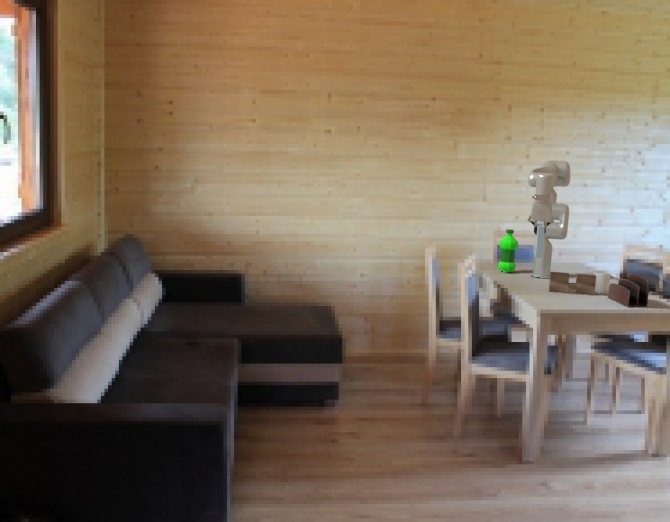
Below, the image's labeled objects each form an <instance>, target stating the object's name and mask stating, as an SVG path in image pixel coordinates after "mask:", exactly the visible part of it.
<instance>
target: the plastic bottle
mask: <svg viewBox="0 0 670 522" xmlns="http://www.w3.org/2000/svg"><path fill="white" fill-rule="evenodd" d="M514 231H515V230H514V229H509V228H507V229H506V230H505V233H506V235H505V236H504V237H502V238H501V239H500V241H499V247H500V261H499V262H498V270H500V271H501V272H502V271H505V272H511V273H513V272H514V271H515V269H516V267H517V266H516V263H515V261H516V260H515V257H516V250H517V249H518V247H519V242H518V240H517V239H516V238H515V237H514V236H513V234H514Z"/></svg>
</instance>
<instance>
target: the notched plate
mask: <svg viewBox="0 0 670 522" xmlns="http://www.w3.org/2000/svg"><path fill="white" fill-rule="evenodd" d="M544 230H545V226H544V225H543V224H540V223H538V222H537V234H536V235H535V234H534V240H533V241H534V243H533V252H532V253H533V256H534V255H535V257H536V258H542V252H543V241H544Z"/></svg>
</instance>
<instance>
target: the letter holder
mask: <svg viewBox="0 0 670 522" xmlns="http://www.w3.org/2000/svg"><path fill="white" fill-rule="evenodd" d="M649 289H650V280H649V279H647V278H646V277H644V276H642V275H640V274H636V273H632V272H628V273H627V277H626V278H618V282H617V283H614V282H610V283H609V291H608V293H607V294H608V295H607V299H610V300H611V301H613V300H614V302H615V301H616V302H615V303H617V302H618V303H617V304H619V303H620V304H619V305H622V306H624V307H626V306H627V307H626V308H634V307H647V308H648V305H649V303H648V302H649V292H650V290H649Z"/></svg>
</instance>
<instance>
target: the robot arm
mask: <svg viewBox="0 0 670 522" xmlns="http://www.w3.org/2000/svg"><path fill="white" fill-rule="evenodd" d="M527 182H528V186H529V187H532V188H535V194H534V195H532V197H531V198H532V199H534V200H533V201H532V206H531V208H530V209H531V210H530V211H531V212H530V215H529V217H528V218H527V222H529V223H531V225H532V226H533V233H534V236H535V235H536V234H537V223H540V224H543V225H544V226H545V230H544V241H543V252H542V258H536V257H535V255H534V254H533V256H534V257H533V268H532V272H530V273H529V277H532V276H533V278H536V277H540V278H539V279H550V272H551V267H552V265H551V264H552V256H553V245H552V243H551V241H550V240H565V239H566V238H567V236H568V229H569V219H570V208H569V205H568V204H567V203H563V202H562V203H561V202H560V203H559V202H557V200H558V199H557V198H558V194H557V191H556V190H555V187H563V188H564V187H568V186H569V185H570V183H571V166H570V162H568V161H565V160H546V161H545V162H544V163H543V164H542V165H541V166H540V167H536V168H534V169H532V170H531V171H530V172H529V175H528V180H527ZM558 221H559V222H558Z"/></svg>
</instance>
